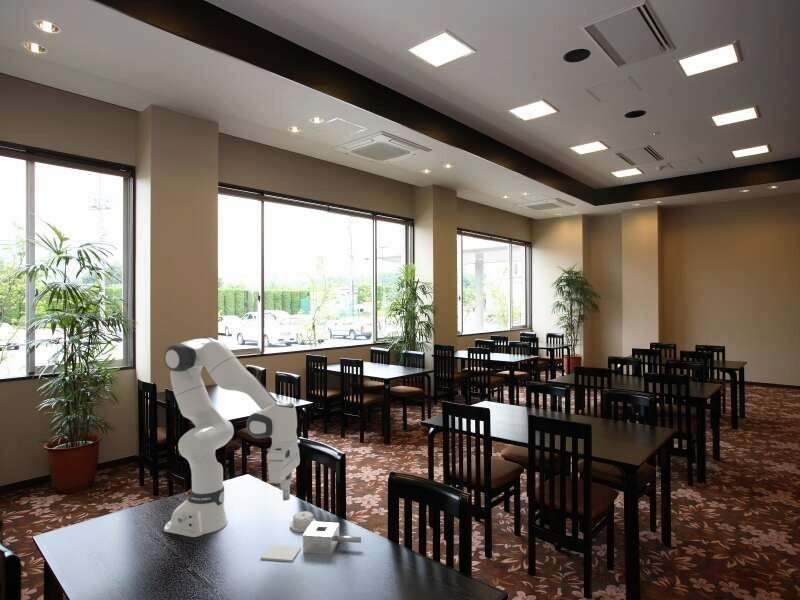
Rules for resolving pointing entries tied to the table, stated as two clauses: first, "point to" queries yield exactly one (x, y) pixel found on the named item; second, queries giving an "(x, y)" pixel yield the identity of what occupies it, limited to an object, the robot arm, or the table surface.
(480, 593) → the table surface
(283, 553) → the mat
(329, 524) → the block
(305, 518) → the mechanical component
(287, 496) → the grey capped cylinder
